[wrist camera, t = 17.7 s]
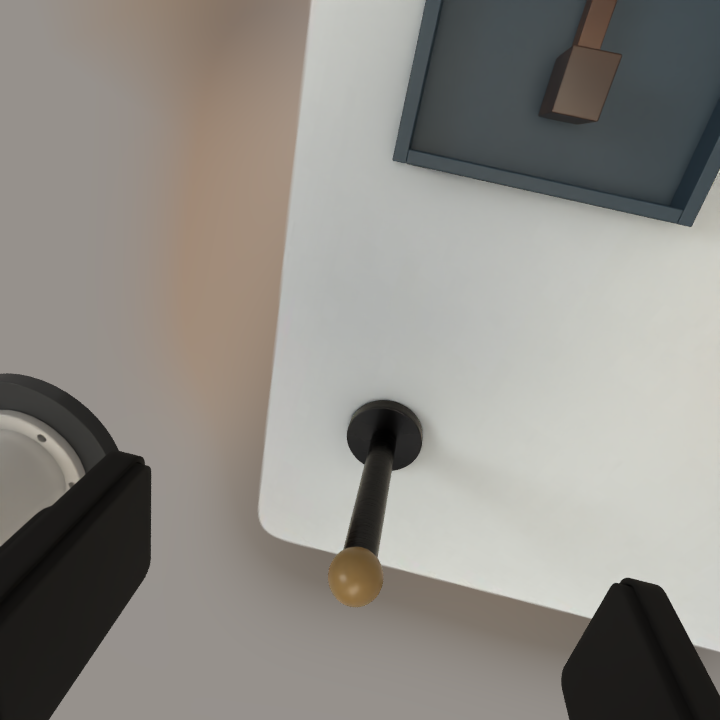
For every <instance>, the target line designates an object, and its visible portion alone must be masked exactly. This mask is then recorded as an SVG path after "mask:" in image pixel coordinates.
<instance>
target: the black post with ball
mask: <svg viewBox="0 0 720 720" xmlns="http://www.w3.org/2000/svg"><path fill="white" fill-rule="evenodd" d="M347 441H348V445H349V448H350V450H351V452H352V453H353V455H354V456H355V457H356V458H357V459H358V460H359V461H360V462H362V463H363V464H365V466H364V470H363V474H362V478H361V482H360V486H359V490H358V494H357V498H356V502H355V506H354V509H353V513H352V517H351V521H350V525H349V529H348V533H347V537H346V541H345V545H344V549H343V550H342V551H341V552H340V553H338V554H337V555H336V557H335V558H334V559H333V561H332V563H331V565H330V568H329V573H328V582H329V586H330V589H331V591H332V593H333V595H334V596H335V597H336V599H337V600H338V601H340V602H341V603H343V604H345V605H347V606H350V607H361V606H365V605H367V604H369V603H370V602H372V601H373V600H374V599H375V598H376V597H377V595H378V594H379V592H380V590H381V588H382V584H383V570H382V566H381V564H380V562H379V560H378V551H379V545H380V539H381V533H382V527H383V521H384V515H385V509H386V503H387V496H388V490H389V484H390V478H391V472H392V471H394V470H398V469H401V468H404V467H406V466H408V465H409V464H411V463H412V462H413V461H414V460H415V459H416V458H417V456H418V454H419V453H420V450H421V446H422V427H421V424H420V422H419V420H418V418H417V417H416V416H415V414H414V413H413V412H412V411H411V410H409V409H408V408H407V407H405V406H403V405H401V404H399V403H396V402H393V401H387V400H379V401H373V402H370V403H367V404H365V405H364V406H362V407H361V408H359V409H358V410H357V411H356V412H355V414H354V415H353V417H352V419H351V421H350V424H349V427H348V431H347Z"/></svg>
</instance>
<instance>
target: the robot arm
mask: <svg viewBox="0 0 720 720" xmlns="http://www.w3.org/2000/svg"><path fill="white" fill-rule="evenodd" d="M150 560H151V468H150V467H149V466H146V465H145V462H144V459H143V457H141V456H137V455H133V454H129V453H124V452H121V451H117V450H113V451H111V452H109V453H108V454H107V455H106V456H105V457H104V458H102V459H101V460H100V461H99V462H98V463H97V464H96V465H95V466H94V467H93V468H92V469H91V470H90V471H88V472H87V473H86V474H85V470H84V467H83V465H82V463H81V460H80V458H79V457H78V455H77V454H76V452H75V451H74V449H73V448H72V447H71V445H70V444H69V443H68V442H67V441H66V439H65V438H63V437H62V436H61V435H60V434H59V433H58V432H57V431H56V430H54V429H53V428H52V427H50V426H49V425H47V424H46V423H44V422H42V421H40V420H39V419H37V418H35V417H33V416H30V415H27V414H24V413H21V412H18V411H12V410H0V720H49V719H50V717H51V716H52V714H53V713H54V711H55V710H56V708H57V707H58V705H59V704H60V702H61V701H62V699H63V698H64V696H65V695H66V693H67V692H68V691H69V689H70V688H71V686H72V685H73V683H74V682H75V680H76V679H77V677H78V676H79V674H80V673H81V671H82V670H83V668H84V667H85V665H86V664H87V663H88V661H89V659H90V658H91V656H92V655H93V654H94V652H95V651H96V649H97V648H98V646H99V645H100V643H101V642H102V640H103V639H104V637H105V636H106V634H107V633H108V631H109V630H110V628H111V626H112V625H113V624H114V623H115V621H116V619H117V618H118V616H119V615H120V614H121V612H122V610H123V609H124V608H125V606H126V605H127V603H128V602H129V600H130V599H131V597H132V596H133V594H134V593H135V591H136V590H137V589H138V587H139V586H140V584H141V583H142V581H143V580H144V578H145V576H146V574H147V572H148V569H149V566H150ZM561 682H562V690H563V695H564V699H565V703H566V707H567V712H568V716H569V720H720V695H719V694H718V692H717V690H716V688H715V686H714V684H713V682H712V681H711V678H710V677H709V675H708V673H707V671H706V669H705V667H704V665H703V663H702V661H701V660H700V657H699V656H698V654H697V652H696V650H695V648H694V646H693V644H692V642H691V640H690V638H689V637H688V635H687V633H686V631H685V629H684V627H683V625H682V623H681V621H680V619H679V618H678V616H677V614H676V612H675V610H674V608H673V606H672V604H671V602H670V600H669V599H668V597H667V595H666V593H665V592H664V590H663V589H662V588H661V587H660V586H658V585H655V584H651V583H647V582H643V581H639V580H635V579H631V578H625V579H623V580H622V581H621V582H620V583H614V584H613V585H612V586H611V587H610V589H609V591H608V592H607V594H606V596H605V597H604V599H603V601H602V603H601V604H600V606H599V608H598V609H597V611H596V613H595V615H594V616H593V618H592V620H591V622H590V623H589V625H588V627H587V628H586V630H585V632H584V634H583V635H582V637H581V639H580V640H579V642H578V644H577V646H576V647H575V649H574V651H573V652H572V654H571V656H570V658H569V659H568V661H567V663H566V665H565V666H564V669H563V672H562V678H561Z"/></svg>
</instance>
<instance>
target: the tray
mask: <svg viewBox="0 0 720 720" xmlns="http://www.w3.org/2000/svg"><path fill="white" fill-rule="evenodd" d="M586 1H587V0H426V3H425V8H424V12H423V17H422V22H421V27H420V32H419V36H418V41H417V46H416V51H415V55H414V60H413V65H412V70H411V74H410V79H409V84H408V89H407V94H406V98H405V103H404V108H403V113H402V117H401V122H400V127H399V132H398V137H397V141H396V146H395V151H394V156H393V161H397V162H401V163H407V164H411V165H415V166H420V167H424V168H428V169H433V170H437V171H442V172H446V173H451V174H455V175H460V176H464V177H469V178H473V179H478V180H482V181H487V182H491V183H496V184H500V185H505V186H509V187H514V188H518V189H523V190H527V191H532V192H536V193H541V194H545V195H550V196H554V197H559V198H563V199H568V200H572V201H577V202H581V203H586V204H590V205H594V206H599V207H603V208H608V209H612V210H617V211H621V212H626V213H630V214H635V215H639V216H644V217H648V218H653V219H657V220H662V221H666V222H671V223H676V224H680V225H684V226H689V227H691V226H692V225H693V222H694V220H695V218H696V216H697V214H698V212H699V210H700V208H701V206H702V204H703V202H704V200H705V198H706V196H707V194H708V192H709V190H710V188H711V186H712V184H713V182H714V180H715V178H716V176H717V174H718V171H719V169H720V0H617V3H616V5H615V8H614V11H613V14H612V17H611V20H610V23H609V25H608V28H607V31H606V34H605V37H604V40H603V42H602V45H601V48H600V50H604V51H609V52H614V53H619V54H622V58H621V61H620V63H619V66H618V69H617V71H616V74H615V77H614V79H613V82H612V85H611V88H610V90H609V93H608V96H607V98H606V101H605V104H604V106H603V109H602V112H601V115H600V117H599V120H598V121H597V122H592V123H585V124H579V125H577V124H572V123H567V122H562V121H558V120H553V119H548V118H543V117H539V116H538V114H539V111H540V108H541V105H542V102H543V99H544V96H545V93H546V89H547V86H548V83H549V80H550V77H551V74H552V71H553V68H554V64H555V61H556V59H557V57H559V56H560V55H561V54H563V53H564V52H565V51H567V50H568V49H569V48H570V47H572V44H573V41H574V38H575V35H576V32H577V29H578V26H579V23H580V20H581V17H582V14H583V11H584V8H585V4H586Z"/></svg>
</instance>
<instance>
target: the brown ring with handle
mask: <svg viewBox="0 0 720 720" xmlns="http://www.w3.org/2000/svg"><path fill="white" fill-rule="evenodd" d="M616 3H617V0H587V1H586V4H585V8H584V11H583V14H582V17H581V20H580V23H579V26H578V29H577V32H576V35H575V38H574V41H573V44H572V47H570V48H569V49H568V50H567V51H565V52H564V53H563V54H561V55H560V56H559V57H557V59H556V61H555V64H554V68H553V71H552V74H551V77H550V80H549V83H548V86H547V89H546V93H545V96H544V99H543V102H542V105H541V108H540V111H539V114H538V116H539V117H543V118H548V119H553V120H558V121H562V122H567V123H572V124H577V125H579V124H585V123H592V122H597V121H598V120H599V117H600V115H601V112H602V109H603V106H604V104H605V101H606V98H607V96H608V93H609V90H610V88H611V85H612V82H613V79H614V77H615V74H616V71H617V69H618V66H619V63H620V61H621V58H622V54H619V53H614V52H609V51H604V50H600V48H601V45H602V42H603V40H604V37H605V34H606V31H607V28H608V25H609V23H610V20H611V17H612V14H613V11H614V8H615V5H616Z"/></svg>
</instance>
